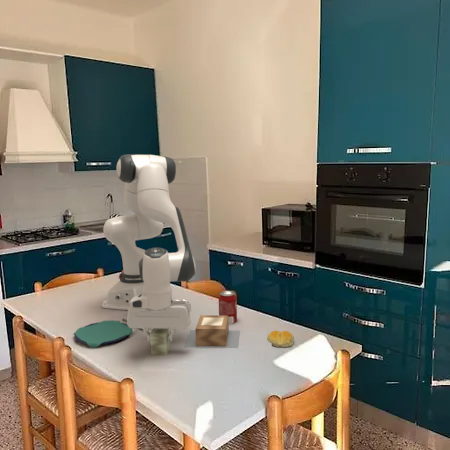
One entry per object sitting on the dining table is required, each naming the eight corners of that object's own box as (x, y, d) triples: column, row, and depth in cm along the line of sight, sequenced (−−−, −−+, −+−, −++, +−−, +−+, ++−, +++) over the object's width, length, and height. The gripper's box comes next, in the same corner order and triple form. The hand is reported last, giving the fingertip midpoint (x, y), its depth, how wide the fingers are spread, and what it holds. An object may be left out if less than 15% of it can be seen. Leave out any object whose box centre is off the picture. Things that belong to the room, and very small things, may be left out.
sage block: (151, 357, 139) (150, 333, 138) (155, 350, 144) (153, 327, 142) (166, 357, 138) (165, 333, 137) (170, 350, 143) (168, 327, 142)
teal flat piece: (65, 336, 157) (64, 330, 157) (137, 315, 177) (137, 310, 177) (90, 354, 143) (89, 347, 143) (165, 329, 163) (165, 323, 163)
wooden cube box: (196, 345, 144) (195, 328, 143) (201, 331, 156) (200, 314, 155) (226, 346, 143) (225, 328, 142) (228, 331, 155) (228, 315, 154)
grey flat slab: (183, 349, 143) (183, 347, 143) (190, 332, 157) (190, 330, 157) (238, 350, 142) (238, 347, 142) (240, 333, 156) (240, 330, 156)
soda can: (235, 327, 161) (234, 296, 159) (217, 326, 162) (216, 295, 160) (238, 320, 168) (237, 290, 166) (221, 319, 169) (220, 289, 167)
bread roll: (269, 337, 152) (268, 326, 152) (294, 339, 150) (294, 328, 150) (265, 347, 145) (265, 335, 144) (292, 349, 142) (292, 337, 142)
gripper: (191, 296, 140) (193, 336, 143) (130, 296, 142) (132, 336, 144) (188, 303, 134) (190, 345, 136) (124, 302, 136) (126, 344, 138)
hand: (160, 340), depth 140 cm, fingers closed on sage block, 5 cm apart
